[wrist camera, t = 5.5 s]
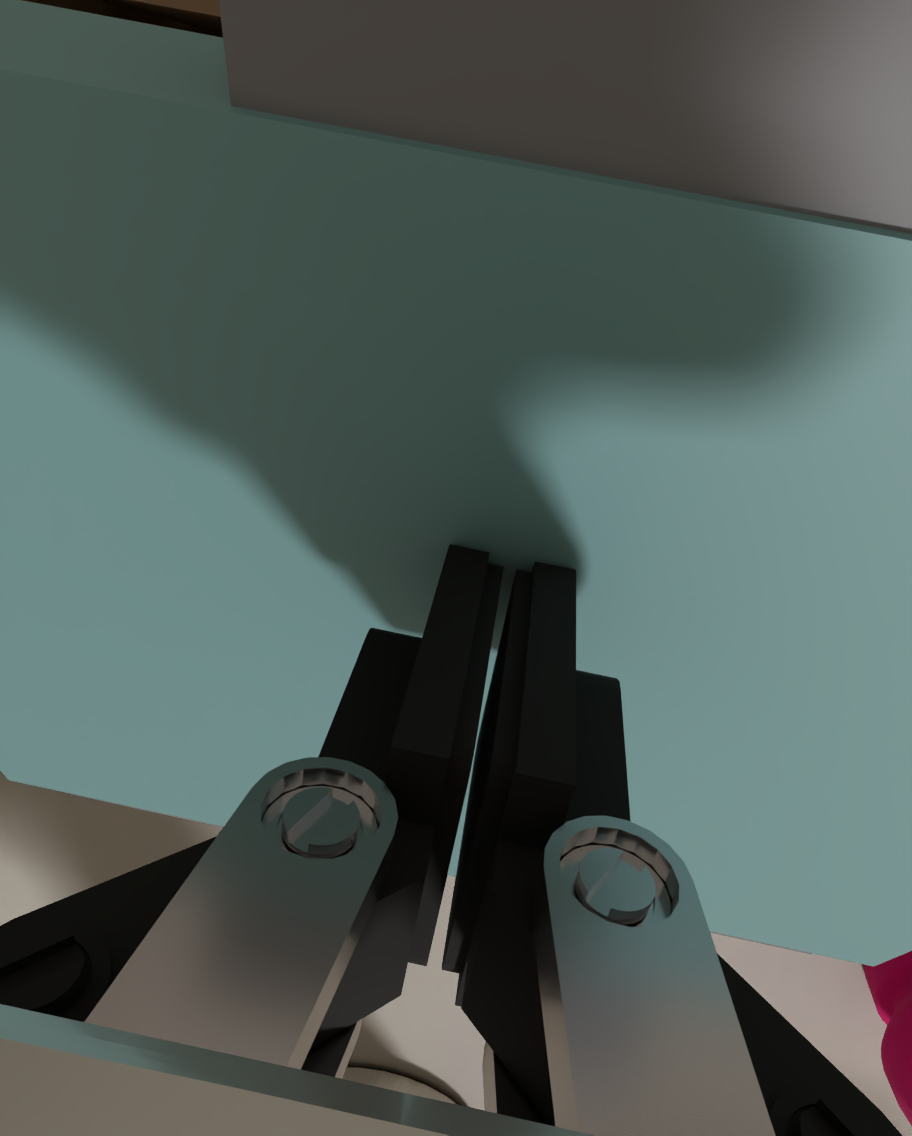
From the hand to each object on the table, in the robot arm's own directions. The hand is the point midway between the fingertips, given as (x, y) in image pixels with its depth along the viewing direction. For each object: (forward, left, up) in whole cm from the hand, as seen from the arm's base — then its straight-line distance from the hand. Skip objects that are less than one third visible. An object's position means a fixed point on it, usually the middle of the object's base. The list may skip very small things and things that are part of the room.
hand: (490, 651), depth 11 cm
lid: (-1, -1, -3) cm, 3 cm away
